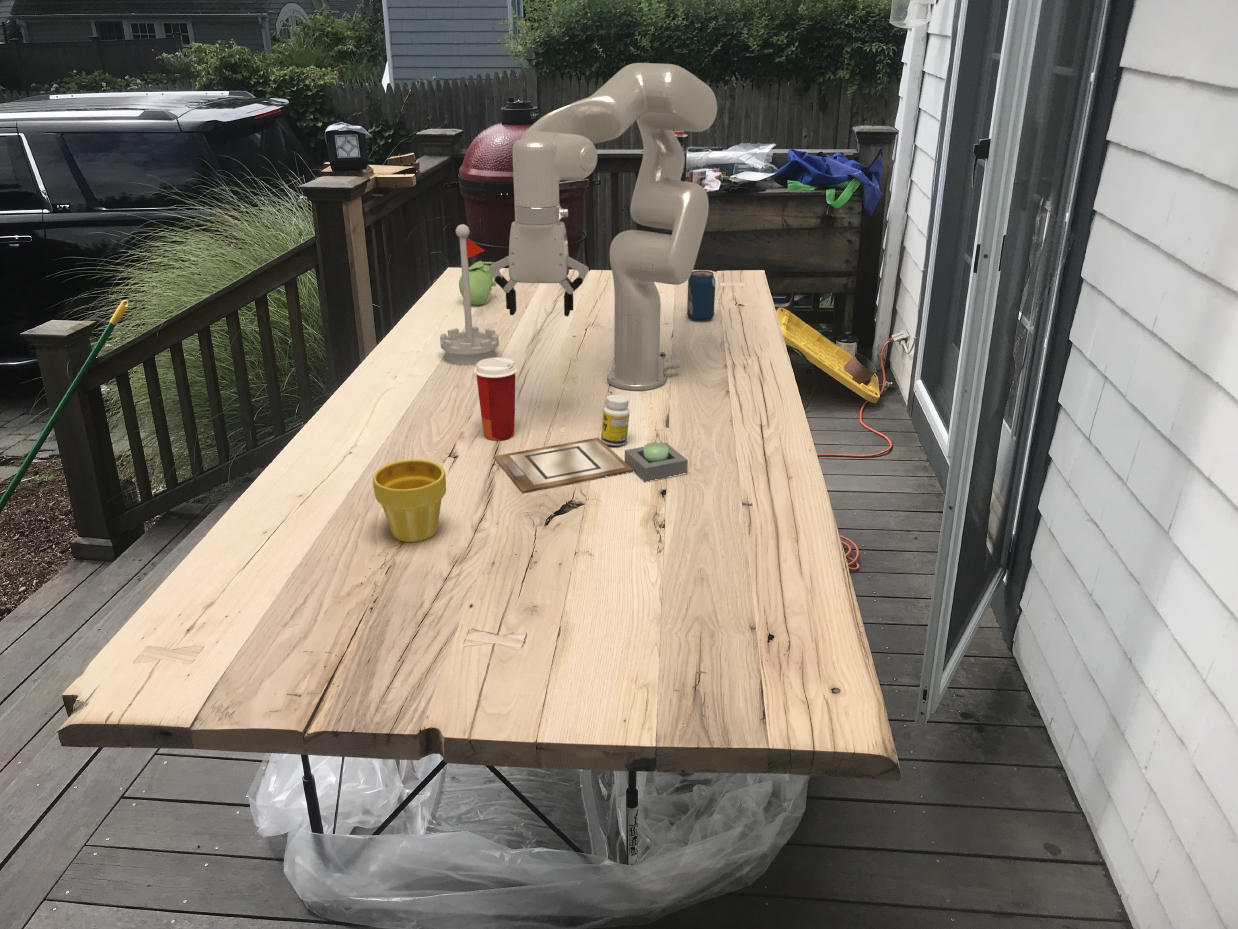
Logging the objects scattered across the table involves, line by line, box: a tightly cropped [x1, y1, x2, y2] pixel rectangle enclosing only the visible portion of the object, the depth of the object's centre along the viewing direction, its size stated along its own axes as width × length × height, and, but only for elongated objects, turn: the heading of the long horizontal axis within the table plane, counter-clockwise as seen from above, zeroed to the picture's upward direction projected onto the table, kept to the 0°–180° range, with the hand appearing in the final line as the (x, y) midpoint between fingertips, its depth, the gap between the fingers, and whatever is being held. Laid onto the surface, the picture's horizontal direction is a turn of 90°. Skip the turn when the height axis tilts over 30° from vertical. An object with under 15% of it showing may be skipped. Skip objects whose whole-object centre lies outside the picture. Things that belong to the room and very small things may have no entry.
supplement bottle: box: [600, 394, 630, 447], centre depth 171 cm, size 5×5×8 cm
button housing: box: [624, 442, 689, 482], centre depth 162 cm, size 8×8×3 cm
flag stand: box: [439, 223, 500, 367], centre depth 210 cm, size 13×13×30 cm
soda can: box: [686, 269, 717, 323], centre depth 242 cm, size 7×7×12 cm
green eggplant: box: [458, 260, 498, 306], centre depth 255 cm, size 12×11×11 cm
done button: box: [643, 442, 668, 463], centre depth 162 cm, size 4×4×3 cm
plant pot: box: [372, 458, 447, 543], centre depth 141 cm, size 10×10×10 cm
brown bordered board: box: [493, 437, 633, 494], centre depth 164 cm, size 20×15×1 cm
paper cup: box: [473, 356, 518, 442], centre depth 173 cm, size 8×8×14 cm
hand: (540, 313), depth 168 cm, fingers open, 9 cm apart
